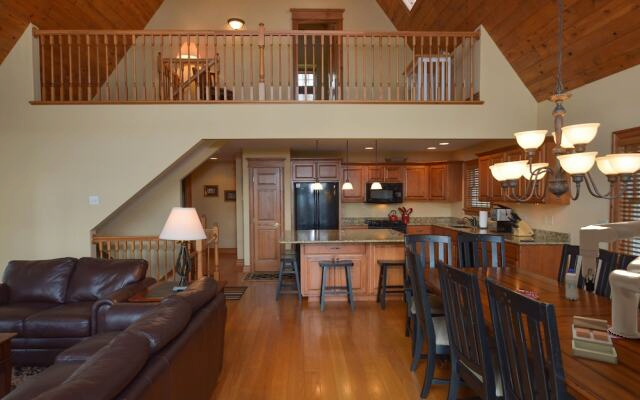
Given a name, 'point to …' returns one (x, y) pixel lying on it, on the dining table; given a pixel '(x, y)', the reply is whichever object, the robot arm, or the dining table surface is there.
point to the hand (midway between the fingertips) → (589, 288)
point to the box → (594, 351)
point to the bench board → (591, 338)
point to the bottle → (571, 285)
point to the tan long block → (590, 324)
